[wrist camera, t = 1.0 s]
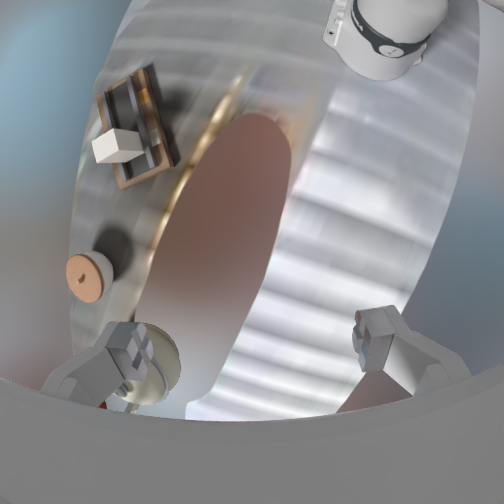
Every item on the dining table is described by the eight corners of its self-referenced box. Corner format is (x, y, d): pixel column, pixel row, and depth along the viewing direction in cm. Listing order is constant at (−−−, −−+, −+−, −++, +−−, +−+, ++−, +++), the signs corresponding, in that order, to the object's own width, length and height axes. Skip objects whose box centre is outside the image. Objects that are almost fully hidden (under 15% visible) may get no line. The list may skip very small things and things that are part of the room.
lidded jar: (109, 298, 60) (86, 315, 51) (81, 266, 59) (55, 280, 51) (128, 269, 57) (104, 285, 48) (97, 235, 56) (70, 246, 47)
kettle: (121, 296, 59) (49, 353, 36) (193, 324, 58) (139, 404, 34) (122, 372, 67) (74, 431, 44) (182, 398, 66) (145, 469, 42)
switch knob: (146, 151, 47) (118, 150, 38) (125, 162, 48) (96, 163, 40) (140, 132, 46) (113, 128, 38) (120, 143, 47) (91, 141, 39)
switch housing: (174, 167, 49) (166, 167, 46) (125, 189, 52) (115, 191, 49) (146, 70, 45) (138, 65, 41) (101, 97, 47) (91, 95, 44)
